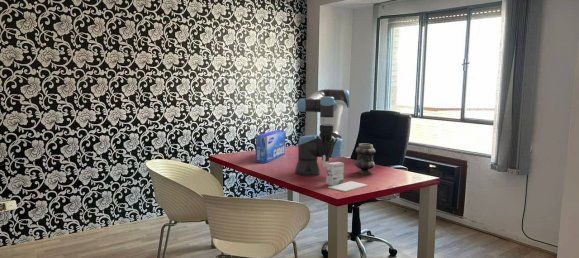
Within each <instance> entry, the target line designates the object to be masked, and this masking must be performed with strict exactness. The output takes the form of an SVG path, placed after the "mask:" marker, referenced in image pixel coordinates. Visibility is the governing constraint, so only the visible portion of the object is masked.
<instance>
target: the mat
mask: <svg viewBox="0 0 579 258" xmlns="http://www.w3.org/2000/svg"><path fill="white" fill-rule="evenodd" d="M365 187H368V184H365V183H361V182H358V181H357V182H356V181H352V180H350V181H347V182H343V183H342V184H338V185H332V186H331V185H329V186H328V188H327V189H331V190H334V191H338V192H343V193H347V192H351V191H354V190H357V189H361V188H365Z"/></svg>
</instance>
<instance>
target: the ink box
mask: <svg viewBox="0 0 579 258" xmlns="http://www.w3.org/2000/svg"><path fill="white" fill-rule="evenodd" d="M344 169H345V163H344V162H340V161H334V162H328V163H327V167H326V185H328V186H334V185H338V184H342V183H344V172H345V170H344Z"/></svg>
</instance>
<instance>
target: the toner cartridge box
mask: <svg viewBox="0 0 579 258" xmlns="http://www.w3.org/2000/svg"><path fill="white" fill-rule="evenodd" d="M286 133H287V131H286V130H276V129H275V130H272V131H268V132H264V133H261V134H258V135H256V136H255V160H254V161H255V163H260V164H261V163H263V164H267V163H269V162H271V161H274V160H276V159H278V158H280V157H283V156H285V153H286V139H287V138H286V135H287V134H286Z"/></svg>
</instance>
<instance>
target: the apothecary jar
mask: <svg viewBox="0 0 579 258" xmlns="http://www.w3.org/2000/svg"><path fill="white" fill-rule="evenodd" d="M355 152H356V153H357V157H356V160H355V162H354V165H355V166H356V168H358V169H359V170H357V171H356V174H357V175H364V176H365V175H366V176H369V175H373V172H372V171H371V169H374V168H375V166H376V164H375V162H374V154H375V153H376V149H375V148H374V145H373V144H371V143H366V142H365V143H364V142H363V143H358V147H356V149H355Z"/></svg>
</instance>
